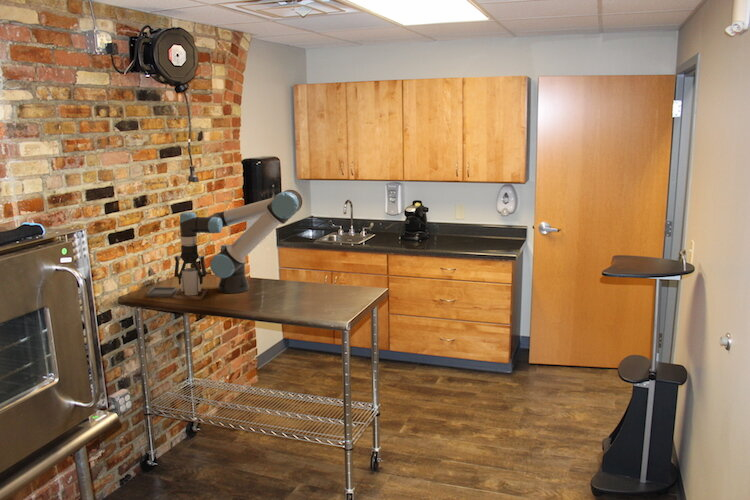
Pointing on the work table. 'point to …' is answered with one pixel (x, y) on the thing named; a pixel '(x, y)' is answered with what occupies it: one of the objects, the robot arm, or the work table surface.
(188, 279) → the cup
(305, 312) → the work table surface
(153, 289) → the tray
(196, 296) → the holder frame
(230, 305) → the work table surface
